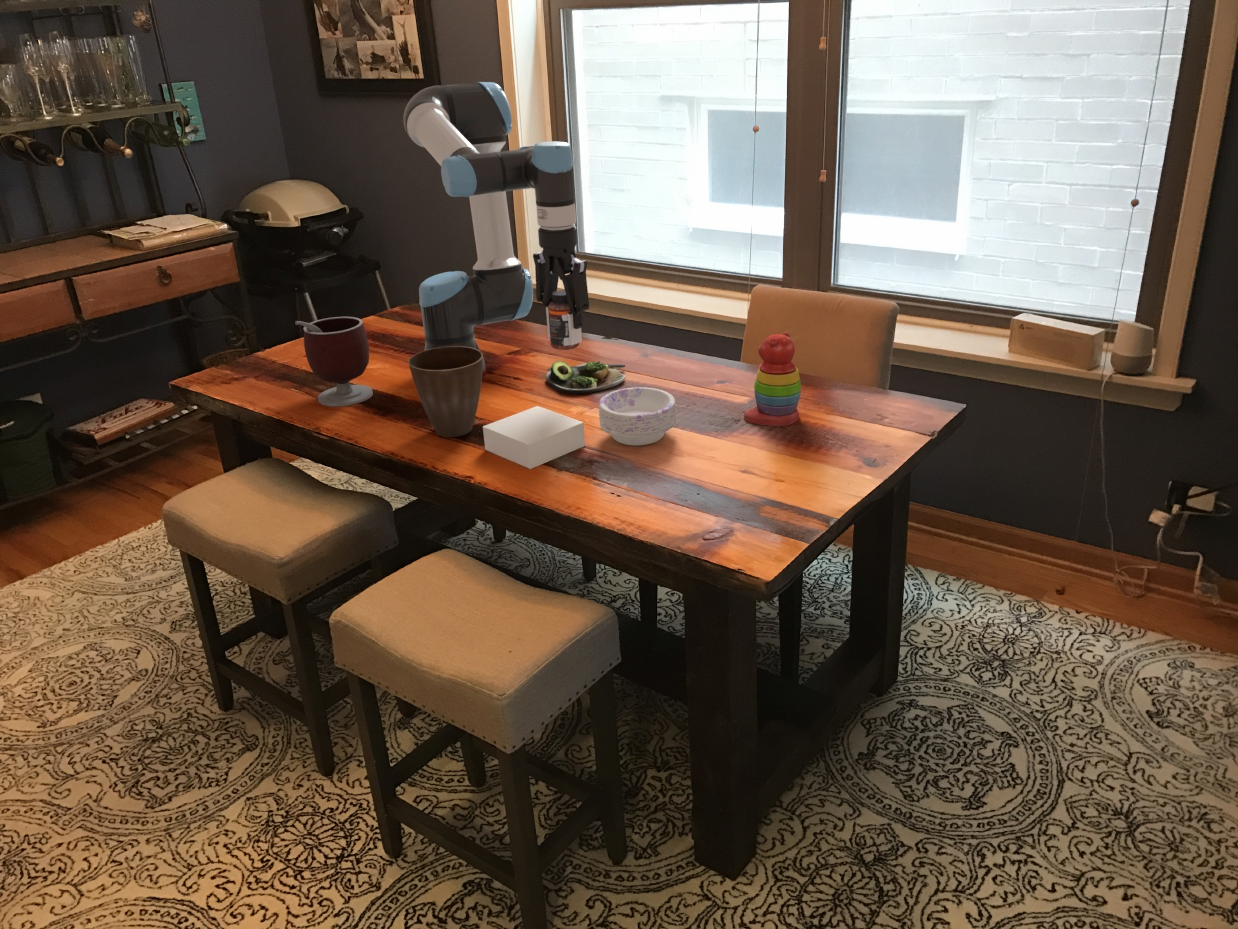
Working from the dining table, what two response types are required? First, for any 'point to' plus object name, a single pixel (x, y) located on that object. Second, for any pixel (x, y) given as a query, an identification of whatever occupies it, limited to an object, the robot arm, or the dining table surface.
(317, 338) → the mate gourd
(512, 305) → the robot arm
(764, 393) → the stacking bear
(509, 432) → the white flat block
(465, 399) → the plant pot
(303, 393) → the dining table surface
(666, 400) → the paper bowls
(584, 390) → the salad plate
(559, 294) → the supplement bottle
